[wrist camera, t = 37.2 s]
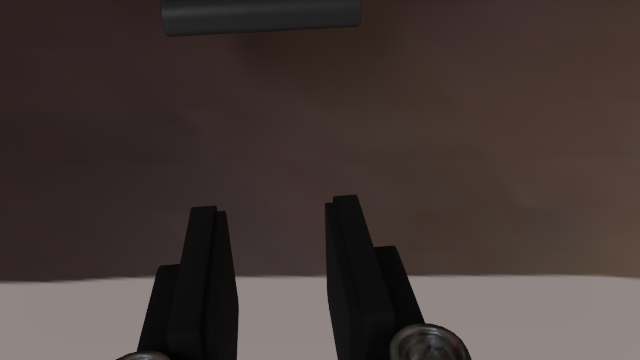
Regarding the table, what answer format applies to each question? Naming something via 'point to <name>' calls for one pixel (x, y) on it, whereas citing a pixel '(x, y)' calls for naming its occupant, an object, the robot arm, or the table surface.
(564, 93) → the table surface
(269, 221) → the table surface
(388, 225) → the table surface
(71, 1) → the table surface
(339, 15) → the drawer
